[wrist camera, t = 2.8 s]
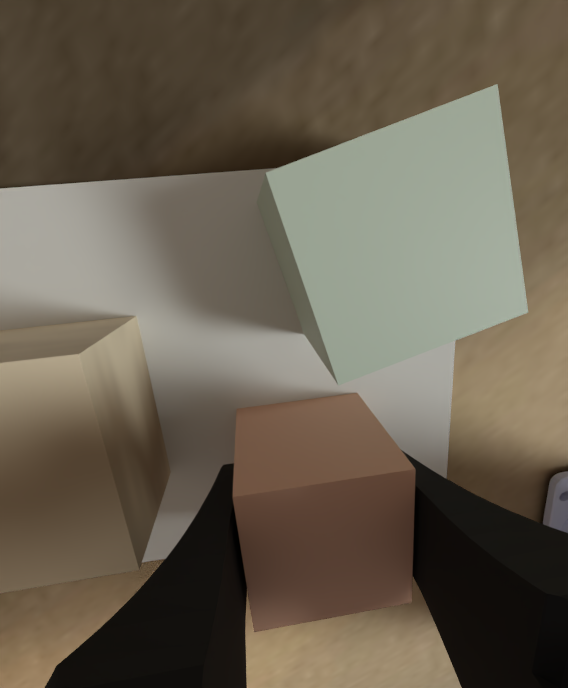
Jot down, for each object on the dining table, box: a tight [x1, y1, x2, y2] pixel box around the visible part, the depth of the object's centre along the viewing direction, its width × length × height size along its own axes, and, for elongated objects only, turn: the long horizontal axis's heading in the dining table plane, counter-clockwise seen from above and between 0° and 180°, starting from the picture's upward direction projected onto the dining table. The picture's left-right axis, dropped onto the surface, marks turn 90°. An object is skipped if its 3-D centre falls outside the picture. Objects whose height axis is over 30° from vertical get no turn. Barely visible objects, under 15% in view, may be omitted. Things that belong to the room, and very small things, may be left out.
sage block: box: [257, 85, 528, 386], centre depth 9 cm, size 4×4×4 cm
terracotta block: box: [233, 393, 416, 632], centre depth 11 cm, size 4×4×4 cm
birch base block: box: [0, 316, 171, 593], centre depth 10 cm, size 6×6×4 cm
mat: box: [0, 168, 455, 562], centre depth 12 cm, size 14×20×1 cm
